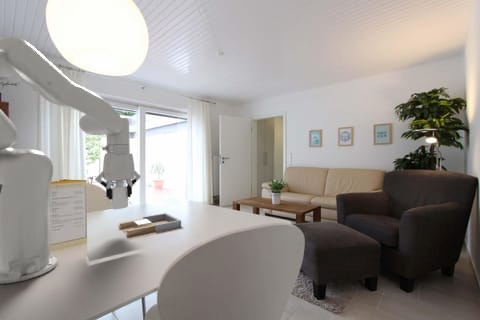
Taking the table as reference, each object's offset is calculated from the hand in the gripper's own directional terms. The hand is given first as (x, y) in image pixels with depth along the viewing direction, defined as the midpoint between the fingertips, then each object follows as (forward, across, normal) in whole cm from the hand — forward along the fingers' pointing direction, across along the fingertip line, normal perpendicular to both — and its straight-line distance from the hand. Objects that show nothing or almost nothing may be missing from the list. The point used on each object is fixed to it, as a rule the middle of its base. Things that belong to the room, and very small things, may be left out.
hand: (119, 197), depth 85 cm
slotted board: (+14, +11, 0) cm, 18 cm away
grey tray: (+14, +16, 0) cm, 21 cm away
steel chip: (+13, +8, 0) cm, 16 cm away
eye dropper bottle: (+4, 0, 0) cm, 4 cm away
